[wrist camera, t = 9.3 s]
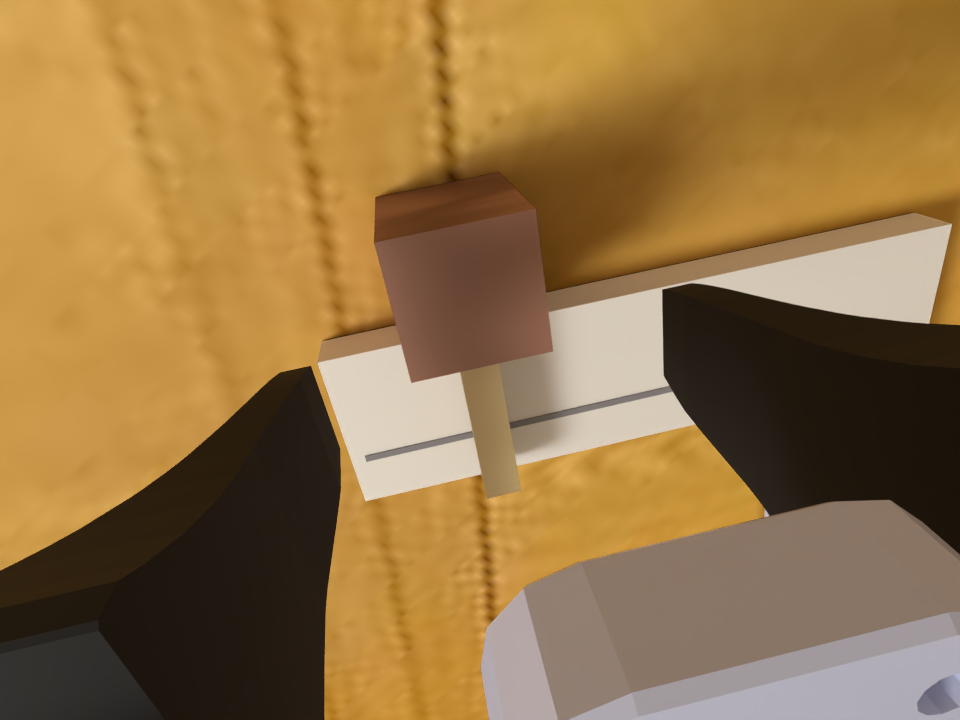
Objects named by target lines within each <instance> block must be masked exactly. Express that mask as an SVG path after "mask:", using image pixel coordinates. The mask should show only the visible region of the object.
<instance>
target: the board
mask: <svg viewBox="0 0 960 720" xmlns="http://www.w3.org/2000/svg"><path fill="white" fill-rule="evenodd" d="M951 227H952V224H951V223H948V222H944V221H941V220H938V219H934V218H931V217H928V216H924V215H921V214H918V213H911V214H906V215H901V216H897V217H892V218H888V219H883V220H878V221H874V222H869V223H865V224H860V225H855V226H851V227H846V228H842V229H837V230H832V231H828V232H823V233H819V234H814V235H809V236H805V237H800V238H796V239H791V240H786V241H782V242H777V243H773V244H768V245H763V246H759V247H754V248H749V249H745V250H740V251H736V252H731V253H726V254H722V255H717V256H713V257H708V258H703V259H699V260H694V261H690V262H685V263H680V264H676V265H671V266H667V267H662V268H657V269H653V270H648V271H644V272H639V273H634V274H630V275H625V276H620V277H616V278H611V279H607V280H602V281H597V282H593V283H588V284H584V285H579V286H574V287H570V288H565V289H561V290H556V291H551V292H547V293H546V296H547V304H548V312H549V321H550V329H551V337H552V345H553V352H548V353H544V354H539V355H535V356H530V357H526V358H521V359H517V360H512V361H508V362H503V363H499V367H500V373H501V378H502V384H503V390H504V396H505V401H506V407H507V413H508V418H509V424H510V430H511V436H512V441H513V447H514V453H515V458H516V464H517V466H519V465H523V464H527V463H532V462H536V461H540V460H544V459H549V458H553V457H557V456H562V455H566V454H570V453H574V452H579V451H583V450H587V449H592V448H596V447H600V446H605V445H609V444H613V443H617V442H622V441H626V440H630V439H635V438H639V437H643V436H647V435H652V434H656V433H660V432H665V431H669V430H673V429H678V428H682V427H686V426H690V425H695V423H694V422H693V421H692V419H691V418H690V417H689V416H688V414H687V413H686V412H685V411H684V409H683V407H682V406H681V404H680V403H679V401H678V399H677V398H676V396H675V395H674V393H673V391H672V389H671V388H670V386H669V384H668V382H667V381H666V379H665V377H664V372H663V315H662V289H666V288H671V287H676V286H680V285H685V284H689V283H696V284H705V285H711V286H716V287H721V288H726V289H730V290H734V291H739V292H743V293H747V294H751V295H756V296H760V297H764V298H768V299H773V300H777V301H781V302H786V303H790V304H795V305H800V306H804V307H809V308H815V309H820V310H825V311H831V312H836V313H842V314H848V315H855V316H861V317H869V318H878V319H886V320H894V321H903V322H915V323H927V324H929V322H930V318H931V313H932V309H933V305H934V300H935V296H936V292H937V287H938V283H939V279H940V274H941V270H942V266H943V261H944V257H945V253H946V248H947V244H948V240H949V235H950V231H951ZM318 365H319V368H320V371H321V374H322V377H323V380H324V383H325V386H326V389H327V391H328V394H329V397H330V400H331V403H332V406H333V409H334V412H335V414H336V417H337V420H338V423H339V426H340V429H341V432H342V435H343V437H344V440H345V443H346V446H347V449H348V452H349V455H350V458H351V460H352V463H353V466H354V469H355V472H356V475H357V478H358V481H359V483H360V486H361V489H362V492H363V495H364V498H365V501H368V500H373V499H377V498H381V497H386V496H390V495H394V494H398V493H403V492H407V491H411V490H416V489H420V488H424V487H428V486H433V485H437V484H441V483H446V482H450V481H454V480H459V479H463V478H467V477H471V476H476V475H480V474H481V469H480V464H479V460H478V455H477V450H476V446H475V441H474V436H473V432H472V427H471V422H470V418H469V413H468V408H467V404H466V399H465V394H464V390H463V385H462V380H461V376H460V372H459V373H454V374H450V375H445V376H441V377H436V378H432V379H427V380H423V381H418V382H414V383H411V380H410V376H409V373H408V369H407V365H406V361H405V357H404V354H403V350H402V346H401V342H400V339H399V335H398V331H397V327H396V325H395V326H390V327H386V328H381V329H376V330H372V331H367V332H362V333H358V334H353V335H349V336H344V337H339V338H335V339H330V340H326V341H322V343H321V348H320V353H319V358H318Z"/></svg>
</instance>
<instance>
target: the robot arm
mask: <svg viewBox="0 0 960 720" xmlns="http://www.w3.org/2000/svg"><path fill="white" fill-rule="evenodd" d="M662 315H663V372H664V377H665V379H666V381H667V382H668V384H669V386H670V388H671V389H672V391H673V393H674V395H675V396H676V398H677V399H678V401H679V403H680V404H681V406H682V407H683V409H684V411H685V412H686V413H687V414H688V416H689V417H690V418H691V419H692V421H693V422H694V423H695V424H696V425H697V427H698V428H699V429H700V430H701V431H702V433H703V434H704V435H705V436H706V437H707V439H708V440H709V441H710V442H711V443H712V445H713V446H714V447H715V448H716V449H717V450H718V452H719V453H720V454H721V455H722V456H723V457H724V459H725V460H726V461H727V462H728V463H729V465H730V466H731V467H732V468H733V469H734V470H735V472H736V473H737V474H738V475H739V476H740V477H741V479H742V480H743V481H744V482H745V483H746V485H747V486H748V487H749V488H750V490H751V491H752V492H753V493H754V495H755V496H756V497H757V499H758V500H759V501H760V502H761V504H762V505H763V507H764V508H765V513H764V518H760V519H755V520H751V521H747V522H743V523H739V524H735V525H730V526H726V527H722V528H718V529H714V530H710V531H705V532H701V533H697V534H693V535H689V536H685V537H681V538H676V539H672V540H668V541H664V542H660V543H656V544H651V545H647V546H643V547H639V548H635V549H631V550H627V551H622V552H618V553H614V554H610V555H606V556H602V557H597V558H593V559H589V560H585V561H581V562H577V563H575V564H573V565H571V566H568V567H566V568H564V569H562V570H559V571H557V572H555V573H553V574H550V575H548V576H546V577H544V578H541V579H539V580H537V581H535V582H532V583H530V584H528V585H527V586H526V587H524V588H523V589H522V590H521V591H520V593H519V594H518V595H517V596H516V597H515V598H514V599H513V600H512V601H511V602H510V603H509V604H508V606H507V607H506V608H505V609H504V610H503V611H502V612H501V613H500V614H499V615H498V616H497V617H496V619H495V620H494V621H493V622H492V623H491V624H490V625H489V626H488V627H487V629H486V636H485V643H484V650H483V657H482V664H481V671H482V678H483V684H484V690H485V696H486V702H487V709H488V715H489V720H960V325H945V324H927V323H915V322H903V321H894V320H886V319H878V318H869V317H861V316H855V315H848V314H842V313H836V312H831V311H825V310H820V309H815V308H809V307H804V306H800V305H795V304H790V303H786V302H781V301H777V300H773V299H768V298H764V297H760V296H756V295H751V294H747V293H743V292H739V291H734V290H730V289H726V288H721V287H716V286H711V285H705V284H696V283H689V284H685V285H680V286H676V287H671V288H666V289H662ZM340 492H341V466H340V447H339V444H338V441H337V439H336V436H335V433H334V430H333V427H332V425H331V422H330V419H329V416H328V413H327V410H326V408H325V405H324V402H323V399H322V396H321V393H320V391H319V388H318V385H317V382H316V379H315V377H314V374H313V371H312V368H311V366H308V367H304V368H299V369H294V370H290V371H285V372H281V373H279V374H278V375H276V376H275V377H273V378H272V379H271V380H270V381H269V382H268V383H267V384H265V385H264V386H263V387H262V388H261V389H260V390H259V391H258V392H257V393H256V394H255V395H254V396H253V397H252V398H251V399H250V400H249V401H248V402H247V403H245V404H244V405H243V406H242V407H241V408H240V409H239V410H238V411H237V412H236V413H235V414H234V415H233V416H232V417H231V418H230V419H229V420H228V421H227V422H226V423H224V424H223V425H222V426H221V427H220V428H219V429H218V430H217V431H215V432H214V433H213V434H212V435H211V436H210V437H209V438H207V439H206V440H205V441H204V442H203V443H202V444H201V445H199V446H198V447H197V448H196V449H195V450H194V451H192V452H191V453H190V454H189V455H188V456H187V457H185V458H184V459H183V460H182V461H180V462H179V463H178V464H177V465H175V466H174V467H173V468H171V469H170V470H169V471H168V472H166V473H165V474H163V475H162V476H161V477H159V478H158V479H156V480H155V481H154V482H152V483H151V484H150V485H148V486H147V487H145V488H144V489H143V490H141V491H140V492H138V493H137V494H135V495H134V496H132V497H131V498H129V499H127V500H126V501H124V502H123V503H121V504H119V505H118V506H116V507H115V508H113V509H111V510H110V511H108V512H106V513H105V514H103V515H102V516H100V517H98V518H97V519H95V520H94V521H92V522H90V523H89V524H87V525H86V526H84V527H82V528H81V529H79V530H77V531H75V532H74V533H72V534H70V535H68V536H66V537H64V538H63V539H61V540H59V541H57V542H55V543H54V544H52V545H50V546H48V547H46V548H44V549H42V550H40V551H38V552H36V553H35V554H33V555H31V556H29V557H27V558H25V559H23V560H21V561H19V562H17V563H15V564H13V565H11V566H9V567H7V568H5V569H3V570H1V571H0V720H324V654H325V612H326V599H327V588H328V580H329V573H330V566H331V559H332V551H333V544H334V537H335V530H336V523H337V515H338V508H339V500H340Z"/></svg>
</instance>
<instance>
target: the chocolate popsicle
mask: <svg viewBox="0 0 960 720" xmlns="http://www.w3.org/2000/svg"><path fill="white" fill-rule="evenodd" d="M374 244H375V248H376V251H377V255H378V259H379V263H380V267H381V270H382V274H383V278H384V282H385V286H386V289H387V293H388V297H389V301H390V304H391V308H392V312H393V316H394V320H395V323H396V327H397V331H398V335H399V339H400V342H401V346H402V350H403V354H404V357H405V361H406V365H407V369H408V373H409V376H410V380H411V383H414V382H418V381H423V380H427V379H432V378H436V377H441V376H445V375H450V374H454V373H459V372H460V376H461V380H462V385H463V390H464V394H465V399H466V404H467V408H468V413H469V418H470V422H471V427H472V432H473V436H474V441H475V446H476V450H477V455H478V460H479V464H480V469H481V474H482V478H483V482H484V486H485V490H486V495H487V499H488V498H492V497H496V496H500V495H505V494H509V493H513V492H517V491H521V487H520V481H519V476H518V470H517V464H516V458H515V453H514V447H513V441H512V436H511V430H510V424H509V418H508V413H507V407H506V401H505V396H504V390H503V384H502V378H501V373H500V367H499V363H503V362H508V361H512V360H517V359H521V358H526V357H530V356H535V355H539V354H544V353H548V352H553V345H552V337H551V329H550V321H549V312H548V304H547V296H546V288H545V279H544V271H543V263H542V255H541V246H540V238H539V230H538V222H537V213H536V208H535V207H534V206H533V205H532V204H531V203H530V202H529V201H528V200H527V199H526V198H525V197H524V196H523V195H522V194H521V193H520V192H519V191H518V190H517V189H516V188H515V187H514V186H513V185H512V184H511V183H510V182H509V181H508V180H507V179H506V178H505V177H504V176H503V175H502V174H501V173H500V172H497V173H492V174H487V175H482V176H478V177H473V178H468V179H463V180H458V181H453V182H448V183H444V184H439V185H434V186H429V187H424V188H419V189H414V190H410V191H405V192H400V193H395V194H390V195H385V196H380V197H376V198H375V233H374Z"/></svg>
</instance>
